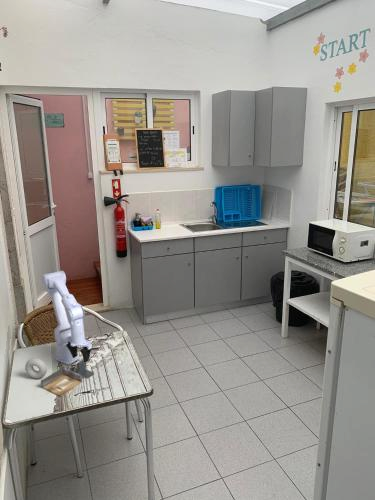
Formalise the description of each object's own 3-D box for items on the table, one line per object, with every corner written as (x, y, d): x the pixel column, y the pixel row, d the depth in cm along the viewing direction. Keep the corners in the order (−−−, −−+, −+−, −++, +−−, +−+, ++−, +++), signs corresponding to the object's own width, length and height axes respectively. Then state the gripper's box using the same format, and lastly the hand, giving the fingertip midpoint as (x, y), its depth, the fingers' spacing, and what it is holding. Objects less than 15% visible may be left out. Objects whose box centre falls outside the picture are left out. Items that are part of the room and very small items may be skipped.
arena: (41, 387, 167) (40, 380, 166) (64, 374, 176) (63, 367, 176) (60, 396, 160) (59, 389, 160) (82, 382, 170) (81, 374, 169)
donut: (25, 379, 173) (22, 359, 171) (29, 375, 176) (26, 355, 174) (45, 381, 172) (42, 361, 169) (49, 376, 175) (46, 357, 172)
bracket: (78, 375, 176) (76, 363, 174) (84, 370, 179) (83, 359, 177) (87, 378, 173) (86, 367, 171) (94, 374, 176) (92, 362, 174)
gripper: (59, 332, 172) (63, 359, 176) (82, 339, 165) (85, 367, 168) (71, 325, 178) (75, 352, 181) (94, 333, 170) (97, 360, 174)
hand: (80, 359), depth 175 cm, fingers open, 7 cm apart
